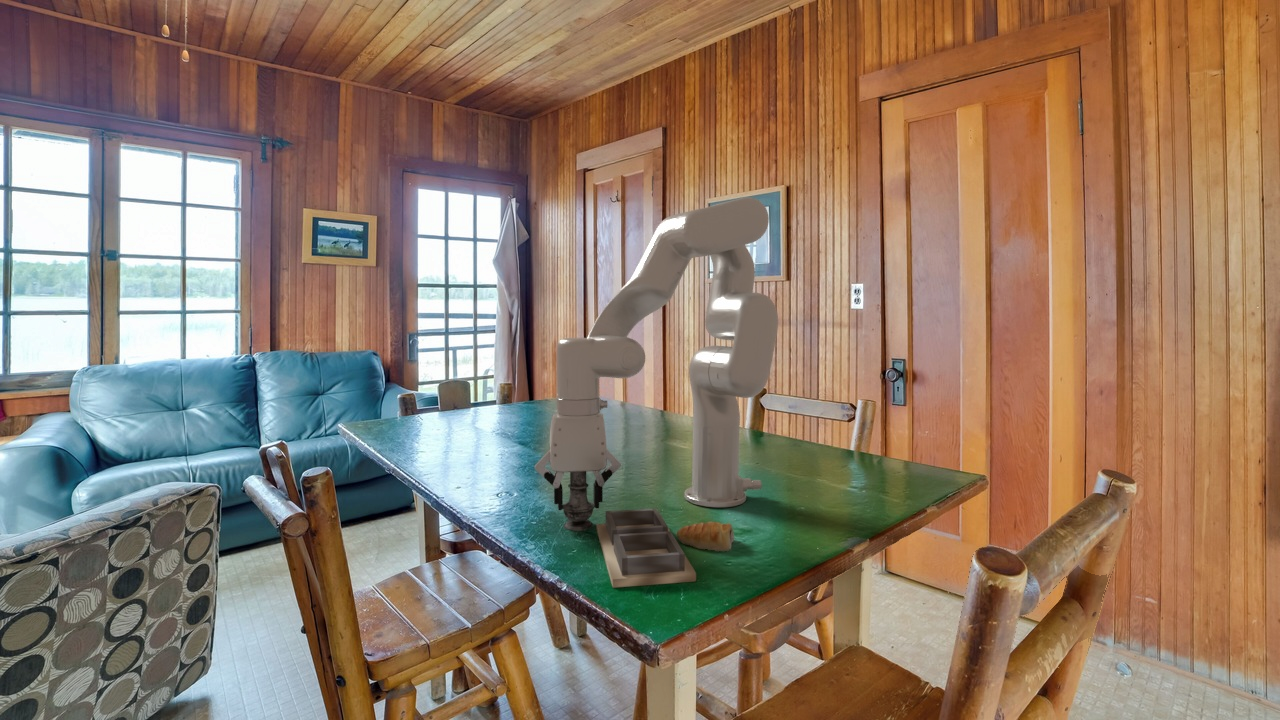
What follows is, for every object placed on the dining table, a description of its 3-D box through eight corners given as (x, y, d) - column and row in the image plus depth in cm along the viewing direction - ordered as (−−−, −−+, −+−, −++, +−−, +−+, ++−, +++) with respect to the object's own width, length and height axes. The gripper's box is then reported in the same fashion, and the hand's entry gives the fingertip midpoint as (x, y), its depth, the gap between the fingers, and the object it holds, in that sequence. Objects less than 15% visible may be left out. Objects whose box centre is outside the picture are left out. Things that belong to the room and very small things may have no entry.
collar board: (663, 526, 106) (663, 506, 105) (696, 581, 84) (696, 556, 84) (596, 530, 103) (596, 509, 103) (612, 587, 82) (612, 561, 82)
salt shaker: (589, 532, 102) (589, 464, 101) (557, 529, 104) (557, 463, 103) (598, 521, 108) (598, 456, 107) (568, 518, 109) (567, 455, 108)
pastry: (673, 548, 96) (673, 525, 96) (680, 534, 103) (681, 512, 102) (731, 554, 94) (731, 531, 94) (735, 539, 100) (735, 517, 100)
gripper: (623, 403, 109) (622, 498, 111) (528, 405, 106) (529, 502, 108) (629, 409, 102) (628, 511, 103) (528, 412, 99) (529, 516, 100)
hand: (578, 505), depth 106 cm, fingers closed on salt shaker, 5 cm apart
